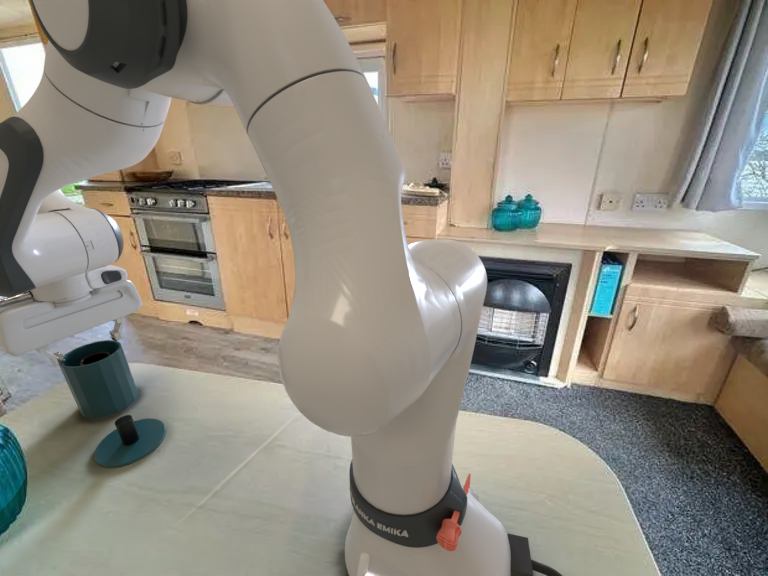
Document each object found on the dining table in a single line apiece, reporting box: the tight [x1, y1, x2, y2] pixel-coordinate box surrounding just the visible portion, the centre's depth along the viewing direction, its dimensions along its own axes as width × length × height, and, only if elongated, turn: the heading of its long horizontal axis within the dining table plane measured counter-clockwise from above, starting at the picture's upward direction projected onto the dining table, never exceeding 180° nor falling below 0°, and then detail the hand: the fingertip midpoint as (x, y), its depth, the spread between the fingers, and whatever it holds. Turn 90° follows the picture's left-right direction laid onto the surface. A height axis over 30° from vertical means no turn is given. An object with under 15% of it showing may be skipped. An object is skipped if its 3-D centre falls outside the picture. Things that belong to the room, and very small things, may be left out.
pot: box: [58, 339, 139, 419], centre depth 68 cm, size 9×9×12 cm
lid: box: [93, 414, 167, 469], centre depth 59 cm, size 10×10×6 cm
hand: (90, 350), depth 65 cm, fingers open, 8 cm apart
